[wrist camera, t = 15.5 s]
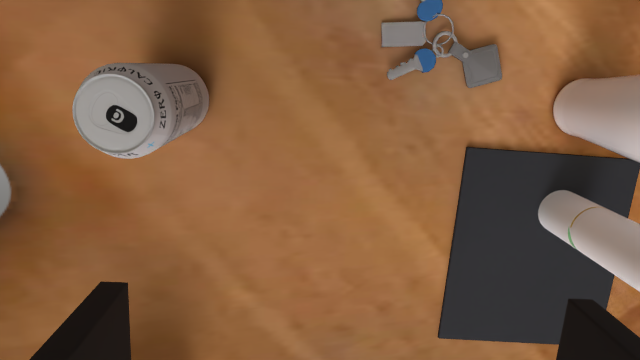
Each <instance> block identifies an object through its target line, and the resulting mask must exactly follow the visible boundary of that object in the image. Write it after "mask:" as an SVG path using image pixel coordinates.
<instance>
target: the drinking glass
mask: <svg viewBox="0 0 640 360" xmlns="http://www.w3.org/2000/svg"><path fill="white" fill-rule="evenodd" d="M553 115H554V119H555V122H556V124H557V125H558V127H559V128H560V129H561V130H562V131H563V132H565V133H567V134H569V135H571V136H575V137H578V138H582V139H584V140H587V141H589V142H591V143H594V144H596V145H598V146H601V147H603V148H606V149H608V150H610V151H613V152H615V153H617V154H619V155H622V156H624V157H626V158H629V159H631V160H634V161H636V162H639V163H640V75H630V76H619V77H609V78H583V79H578V80H575V81H573V82H571V83H569V84H567V85H566V86H565V87H564V88H563V89H562V90H561V91H560V92H559V94H558V95H557V97H556V99H555V102H554V106H553Z"/></svg>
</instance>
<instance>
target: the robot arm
mask: <svg viewBox="0 0 640 360" xmlns="http://www.w3.org/2000/svg"><path fill="white" fill-rule="evenodd" d="M30 360H131V347H130V323H129V299H128V283H122V282H100V283H99V284H98V285H97V286H96V288H95V289H94V290H93V291H92V292H91V293H90V294H89V295H88V296H87V297H86V298H85V300H84V301H83V302H82V303H81V304H80V305H79V306H78V307H77V308H76V309H75V310H74V312H73V313H72V314H71V315H70V316H69V317H68V318H67V319H66V320H65V321H64V323H63V324H62V325H61V326H60V327H59V328H58V329H57V330H56V331H55V332H54V333H53V335H52V336H51V337H50V338H49V339H48V340H47V341H46V342H45V343H44V344H43V345H42V347H41V348H40V349H39V350H38V351H37V352H36V353H35V354H34V355H33V356H32V357H31V359H30ZM556 360H640V338H639V337H638V336H637V335H636V334H634V333H633V332H632V331H631V330H630V329H628V328H627V327H626V326H625V325H623V324H622V323H621V322H620V321H619V320H617V319H616V318H615V317H614V316H612V315H611V314H610V313H609V312H608V311H606V310H605V309H604V308H603V307H601V306H600V305H599V304H598V303H597V302H595V301H594V300H593V299H568V303H567V308H566V313H565V318H564V323H563V328H562V333H561V338H560V343H559V348H558V353H557V358H556Z"/></svg>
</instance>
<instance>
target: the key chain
mask: <svg viewBox="0 0 640 360" xmlns="http://www.w3.org/2000/svg"><path fill="white" fill-rule="evenodd" d="M421 1H422V3H420V4H419V6H418V8H417V14H418V17H419V18H420V19H421V20H423V21H426V22H425V23H423V22H392V23H382V47H399V46H423V44H424V43H425V39H426V41H427V42H428V43H430V44H432V45H433V48H432V51H431V50H429V49H426V48H425V49H420V50H418V51H417V52H416V53H414V54H415V56H414V58H413V60H412V58H411V59H409V61H407V62H408V63H407V64H406V63H405V62H404V63H403V62H402V63H400V65H401V66H400V67H399V66H396V68H395V69H393V70H392V69H389V72H387V77H388V78H389V79H390V80H392V79H395V78H397V77H399V76H401V75H404V74H406V73H408V72H410V71H412V70H415V69H417V70H419V71H422V73H423V72H429V71H430V70H431V69H432V68H434V65H435V63H436V57H449V56H451V55H452V56H454V57H456V58H457V59H459V60H460V61H462V62H463V68H464V73H465V79H466V84H467V87H468V88H472V87H476V86H480V85H484V84H488V83H491V82H495V81H499V80H501V79H502V72H501V66H500V60H499V54H498V48H497V46H496V45H495V44H492V45H489V46H485V47H481V48H477V49H474V50H468V49H466V48H465V47H463V46H462V45H460V44H459V43H458V42H457V38H456V36H455V35H454V34H453V32H454V26H453V22H452V20H451V19H450V17H448V16H446V15H444V14H440V13H441V11H442V7H443V3H442V0H421ZM436 13H437V14H436ZM434 16H436V17H437V16H444V17H446V18H448V19H449V20H450V22H451V24H452V32H449V31H442V32H440V33H438V34H437V35H436V37H435V38H434V40H433V43H432V42H430V41H428V39H427V38H426V29H425V26H426V23H427V22H428V21H431V20H433V19H435V18H436V17H434ZM433 17H434V18H433ZM443 35H449V36H450V37H449V38H448V39H447V40H446V41H445V42H443V43H441V44H436V43H437V40H438V39H439V37H441V36H443ZM423 36H424V37H423ZM451 37H452V39H453V40H454V43H453V45H452V46H451V48H450V50H449V51H448V53H447V54H443V52H444V49H443V47H442V46H441V45H442V44H444V43H447V42H448V41H449V39H450V38H451ZM437 47H440V48H441V49H442V53H440V52H439V51H438V49H437ZM433 50H434V52H435V53H436V54H437V55H435V54H434V53H433Z"/></svg>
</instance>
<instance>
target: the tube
mask: <svg viewBox="0 0 640 360" xmlns="http://www.w3.org/2000/svg"><path fill="white" fill-rule="evenodd" d="M538 217H539V221H540V223H541V224H542V226H543V227H544V228H545V229H547V230H548V231H550V232H551V233H553V234H554V235H556V236H557V237H559V238H560V239H562V240H563V241H565V242H566V243H568V244H569V245H571V246H572V247H574V248H575V249H577V250H578V251H580V252H581V253H583V254H584V255H586V256H587V257H589V258H590V259H592V260H593V261H595V262H596V263H598V264H599V265H600V266H602V267H603V268H605V269H606V270H608V271H609V272H611V273H612V274H614V275H615V276H617V277H618V278H620V279H621V280H623V281H624V282H626V283H627V284H629V285H630V286H632V287H633V288H635V289H636V290H638V291H639V292H640V224H638V223H636V222H634V221H632V220H630V219H628V218H626V217H623V216H621V215H619V214H617V213H615V212H613V211H611V210H609V209H606V208H604V207H602V206H600V205H598V204H596V203H594V202H592V201H589V200H587V199H585V198H583V197H581V196H579V195H577V194H574V193H572V192H570V191H567V190H558V191H555V192H553V193H550V194H549V195H548V196H546V197H545V198H544V199H543V201H542V202H541V204H540V206H539V210H538Z"/></svg>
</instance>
